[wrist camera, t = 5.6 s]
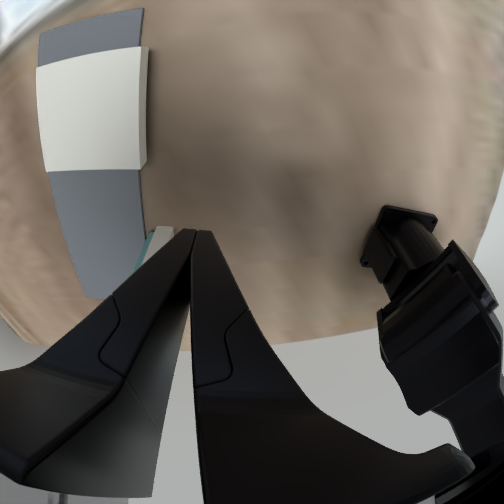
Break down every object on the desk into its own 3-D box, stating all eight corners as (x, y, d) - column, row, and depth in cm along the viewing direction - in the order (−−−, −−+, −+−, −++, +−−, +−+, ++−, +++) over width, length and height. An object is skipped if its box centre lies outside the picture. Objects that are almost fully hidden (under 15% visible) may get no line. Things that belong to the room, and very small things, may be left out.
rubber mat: (144, 8, 11) (142, 7, 11) (156, 303, 28) (156, 305, 28) (41, 33, 10) (39, 33, 10) (87, 294, 27) (86, 296, 27)
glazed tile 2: (173, 226, 22) (150, 302, 16) (178, 293, 27) (165, 363, 21) (150, 225, 22) (120, 299, 16) (159, 291, 27) (142, 360, 21)
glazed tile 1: (141, 46, 11) (36, 67, 10) (140, 169, 16) (46, 171, 15) (151, 47, 13) (52, 64, 12) (149, 158, 18) (59, 161, 17)
